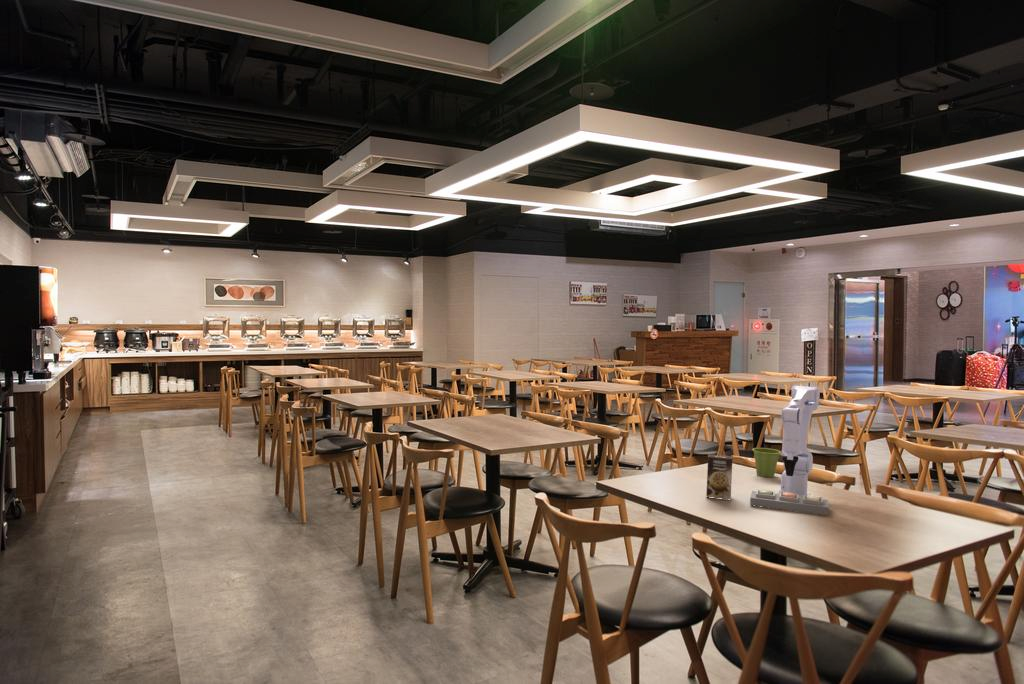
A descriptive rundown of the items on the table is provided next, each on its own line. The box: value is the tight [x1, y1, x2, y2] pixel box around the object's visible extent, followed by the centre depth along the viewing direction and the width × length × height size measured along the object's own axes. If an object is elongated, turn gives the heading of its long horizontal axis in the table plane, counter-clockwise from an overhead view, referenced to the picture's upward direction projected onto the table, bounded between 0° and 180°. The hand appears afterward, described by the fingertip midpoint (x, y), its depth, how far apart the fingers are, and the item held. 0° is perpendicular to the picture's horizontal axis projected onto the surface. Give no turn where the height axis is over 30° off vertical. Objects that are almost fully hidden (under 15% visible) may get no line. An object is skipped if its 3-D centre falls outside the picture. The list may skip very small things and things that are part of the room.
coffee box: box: [705, 453, 733, 500], centre depth 245 cm, size 9×6×16 cm
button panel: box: [749, 489, 830, 517], centre depth 234 cm, size 26×11×4 cm, turn 66°
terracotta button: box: [782, 492, 796, 498], centre depth 234 cm, size 4×4×2 cm
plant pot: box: [751, 447, 782, 478], centre depth 282 cm, size 12×12×11 cm
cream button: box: [806, 494, 821, 501], centre depth 231 cm, size 4×4×2 cm
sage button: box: [758, 489, 773, 495], centre depth 238 cm, size 4×4×2 cm
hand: (789, 475), depth 239 cm, fingers closed
